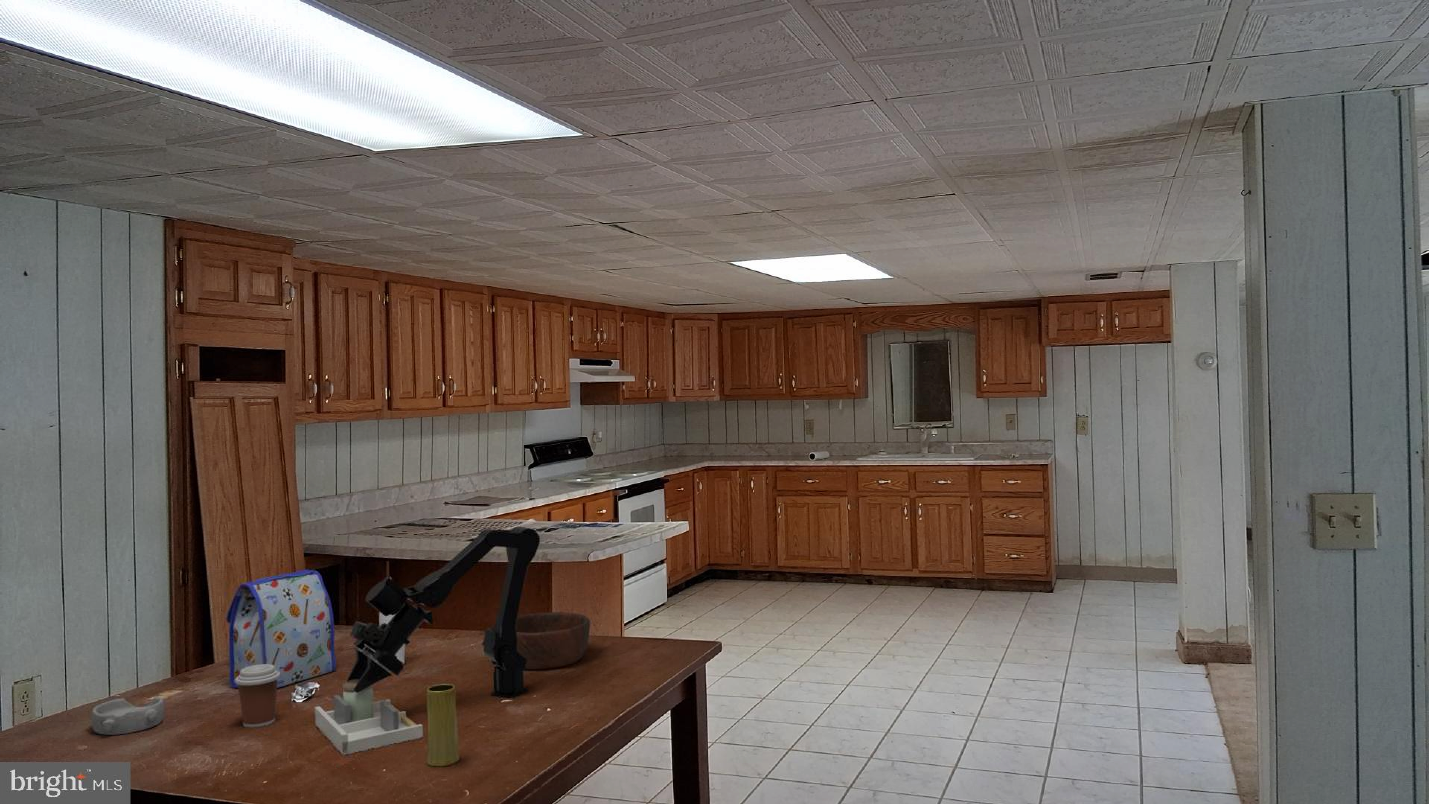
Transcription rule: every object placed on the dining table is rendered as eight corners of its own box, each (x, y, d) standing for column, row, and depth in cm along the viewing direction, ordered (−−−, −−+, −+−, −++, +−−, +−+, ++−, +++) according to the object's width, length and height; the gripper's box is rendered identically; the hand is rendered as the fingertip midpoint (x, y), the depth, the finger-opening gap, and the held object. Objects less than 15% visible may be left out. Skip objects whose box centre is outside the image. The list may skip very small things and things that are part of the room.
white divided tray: (389, 710, 221) (388, 683, 221) (422, 737, 202) (421, 708, 202) (315, 725, 211) (314, 697, 211) (343, 755, 193) (342, 724, 193)
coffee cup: (291, 717, 218) (289, 664, 217) (259, 731, 209) (257, 675, 209) (258, 714, 220) (257, 661, 220) (226, 727, 212) (224, 672, 212)
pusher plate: (339, 719, 213) (338, 694, 213) (350, 730, 205) (349, 704, 205) (334, 720, 212) (333, 695, 212) (345, 731, 205) (344, 705, 205)
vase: (430, 756, 191) (428, 683, 191) (462, 754, 191) (459, 682, 191) (423, 768, 185) (421, 693, 185) (456, 766, 185) (454, 691, 185)
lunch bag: (297, 664, 263) (294, 565, 263) (341, 670, 255) (338, 569, 255) (221, 688, 242) (217, 581, 242) (266, 695, 235) (263, 585, 235)
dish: (97, 722, 219) (97, 700, 219) (168, 712, 224) (167, 691, 224) (85, 742, 205) (84, 719, 205) (160, 732, 211) (159, 709, 211)
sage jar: (377, 714, 214) (376, 678, 214) (368, 723, 208) (366, 686, 208) (350, 715, 214) (348, 679, 214) (340, 724, 208) (338, 687, 208)
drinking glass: (399, 669, 254) (397, 612, 254) (375, 668, 256) (373, 612, 256) (412, 662, 261) (410, 606, 261) (389, 661, 262) (387, 606, 262)
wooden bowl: (545, 644, 277) (543, 608, 277) (610, 655, 262) (609, 617, 262) (476, 665, 257) (475, 626, 257) (543, 679, 242) (541, 638, 242)
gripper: (361, 600, 221) (312, 658, 214) (385, 614, 205) (333, 676, 199) (397, 629, 225) (350, 686, 219) (424, 644, 210) (374, 706, 204)
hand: (351, 688), depth 210 cm, fingers closed on sage jar, 6 cm apart
